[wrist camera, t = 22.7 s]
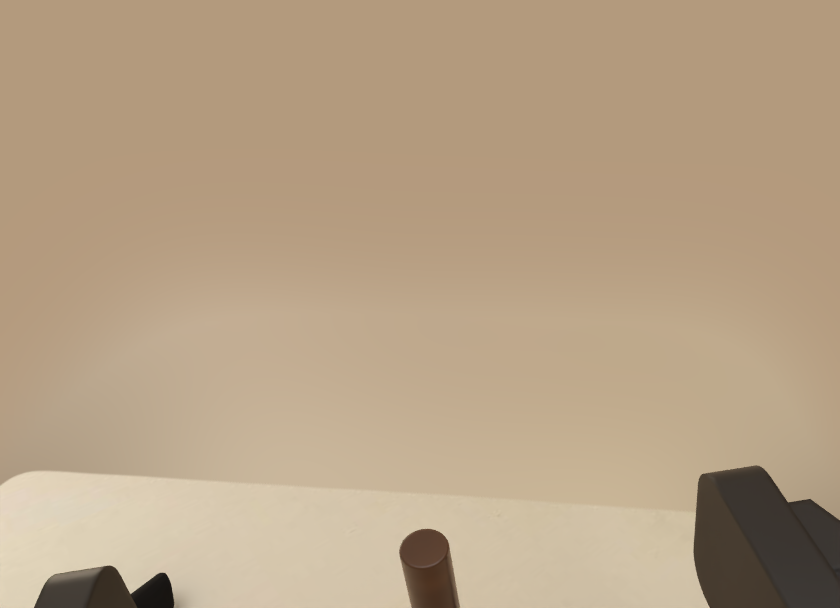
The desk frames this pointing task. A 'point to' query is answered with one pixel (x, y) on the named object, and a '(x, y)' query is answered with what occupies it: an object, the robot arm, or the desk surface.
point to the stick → (428, 570)
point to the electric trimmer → (154, 593)
